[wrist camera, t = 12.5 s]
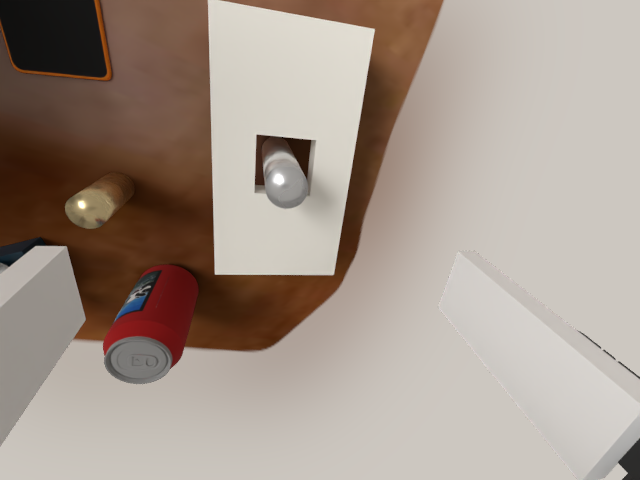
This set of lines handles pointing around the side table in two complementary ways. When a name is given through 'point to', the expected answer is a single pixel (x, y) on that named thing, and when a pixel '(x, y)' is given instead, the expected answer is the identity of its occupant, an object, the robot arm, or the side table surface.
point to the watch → (17, 252)
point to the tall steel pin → (282, 174)
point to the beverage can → (151, 325)
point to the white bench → (282, 133)
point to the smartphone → (56, 38)
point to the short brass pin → (99, 200)
